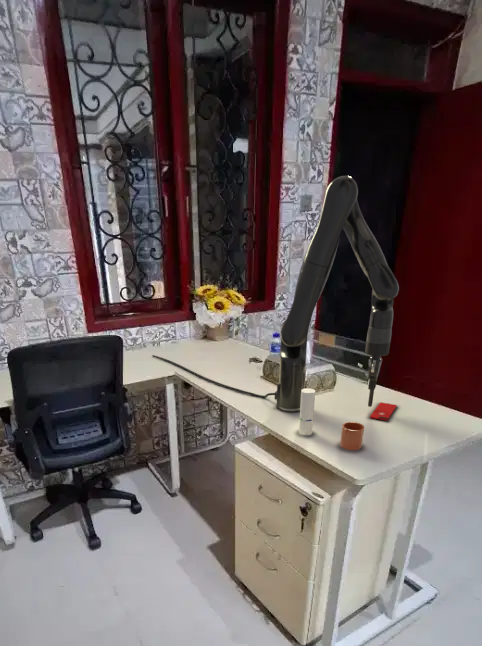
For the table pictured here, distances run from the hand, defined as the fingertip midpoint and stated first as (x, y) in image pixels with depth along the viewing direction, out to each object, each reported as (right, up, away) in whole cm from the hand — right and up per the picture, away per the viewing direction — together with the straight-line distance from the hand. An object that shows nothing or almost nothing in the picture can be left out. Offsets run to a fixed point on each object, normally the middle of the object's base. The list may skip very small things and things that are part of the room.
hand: (371, 388), depth 147 cm
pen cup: (-15, -20, -20) cm, 32 cm away
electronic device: (+5, -8, +2) cm, 10 cm away
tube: (-26, -16, -10) cm, 33 cm away
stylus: (+1, -6, +3) cm, 7 cm away
